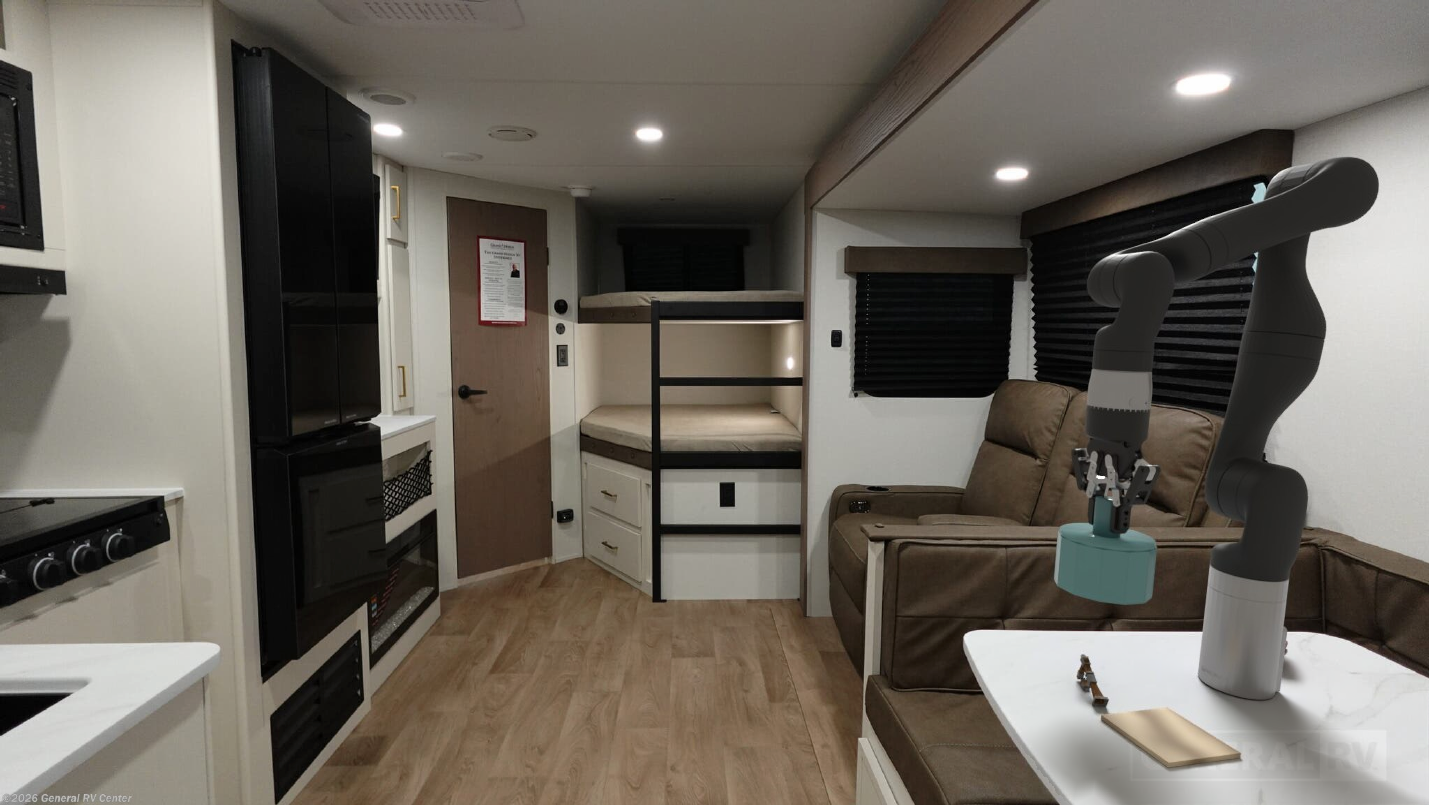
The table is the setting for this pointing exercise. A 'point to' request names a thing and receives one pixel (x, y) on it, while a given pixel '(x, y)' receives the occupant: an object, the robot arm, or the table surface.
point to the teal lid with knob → (1105, 560)
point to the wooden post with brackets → (1090, 682)
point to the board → (1170, 737)
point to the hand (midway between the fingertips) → (1107, 528)
